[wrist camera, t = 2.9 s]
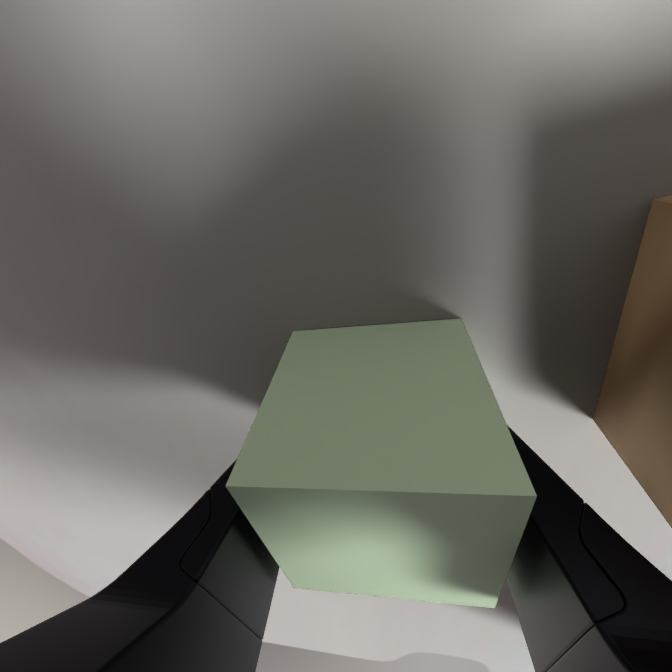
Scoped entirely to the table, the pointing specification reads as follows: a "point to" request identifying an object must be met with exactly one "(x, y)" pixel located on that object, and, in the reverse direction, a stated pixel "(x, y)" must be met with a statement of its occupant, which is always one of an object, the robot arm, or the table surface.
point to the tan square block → (644, 366)
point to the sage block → (385, 466)
